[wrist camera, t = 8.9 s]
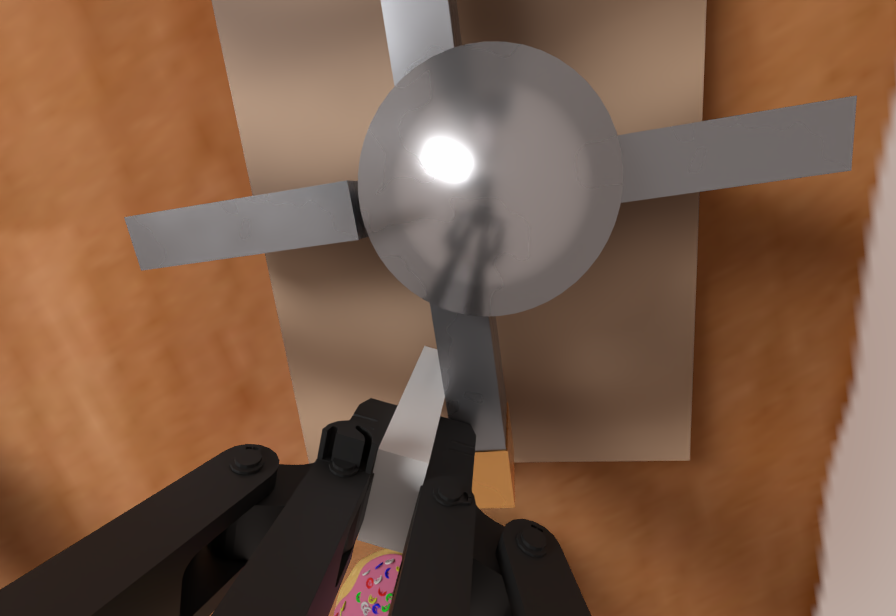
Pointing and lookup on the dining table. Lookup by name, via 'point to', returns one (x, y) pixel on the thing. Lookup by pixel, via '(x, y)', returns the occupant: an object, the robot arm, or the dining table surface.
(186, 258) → the capstan
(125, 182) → the dining table surface
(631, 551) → the dining table surface
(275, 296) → the stand
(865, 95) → the dining table surface
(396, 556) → the cupcake
